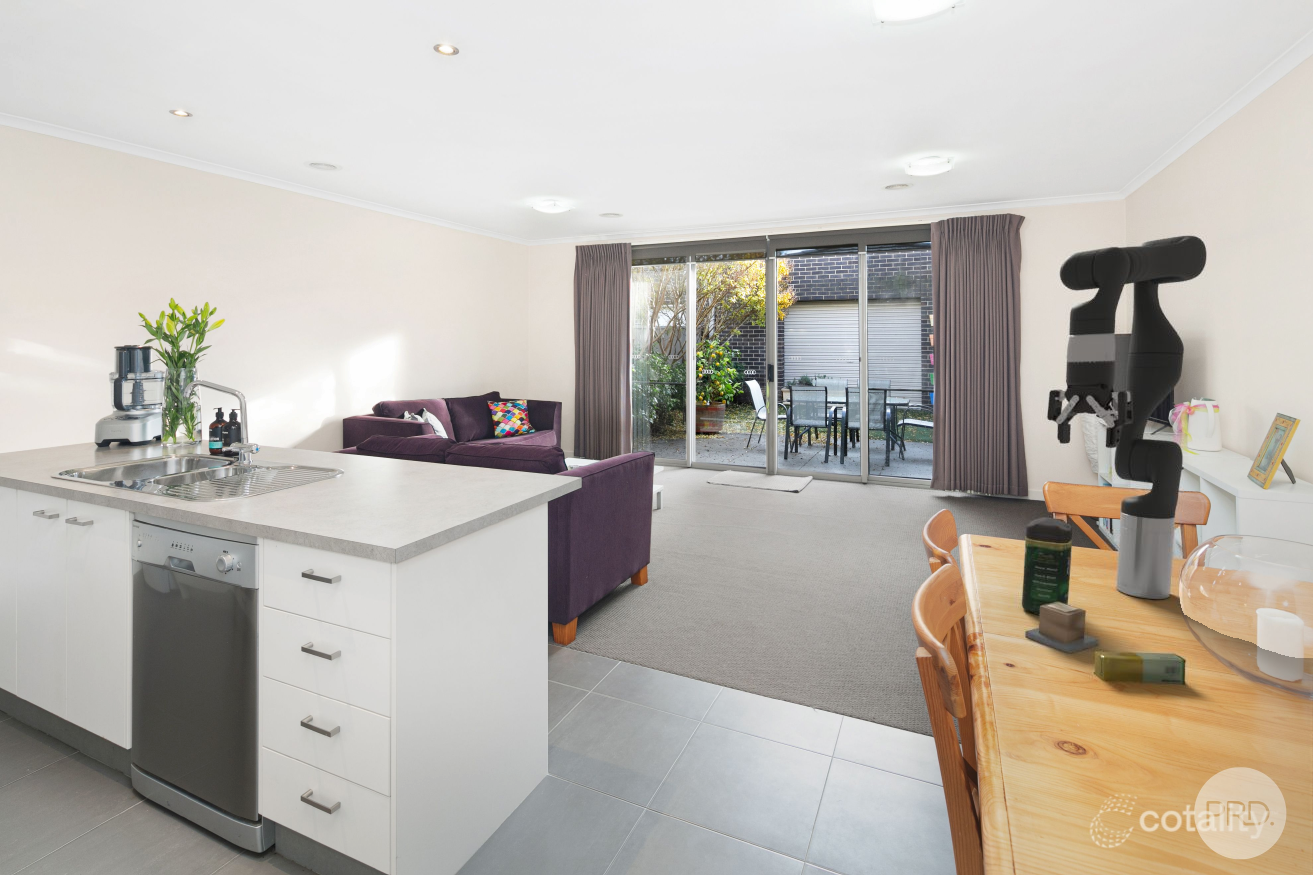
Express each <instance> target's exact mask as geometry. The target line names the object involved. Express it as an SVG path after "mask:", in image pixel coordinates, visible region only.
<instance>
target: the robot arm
mask: <svg viewBox="0 0 1313 875" xmlns="http://www.w3.org/2000/svg"><path fill="white" fill-rule="evenodd" d="M1206 263H1207V248H1206V245H1205V242H1204V241H1203V240H1202V239H1201V238H1199V237H1198V236H1195V235H1180V236H1174V237H1173V236H1172V237H1167V238H1162V239H1160V238H1159V239H1154V240H1149V241H1145V242H1143V243H1142V244H1141V245H1140V246H1139V245H1138V246H1124V247H1119V246H1111V247H1110V246H1109V247H1105V248H1099V249H1092V250H1086V251H1079V252H1074V253H1073V254H1070V255H1069V256H1067V257H1066V259H1064V260H1063V262H1062V264H1061V266H1060V270H1059V277H1060V281H1061V283H1062V284H1063V285H1064V287H1066V288H1067V289H1069V290H1071V291H1077V292H1078V291H1085V290H1086V291H1087V290H1095V289H1098V290H1097V292H1096V293H1095V295H1094V297H1092V299H1090V300H1088V301H1083V302H1081V303H1077V304H1074V306H1072V307H1071V309H1070V312H1069V330H1068V331H1069V332H1068V334H1069V337H1068V341H1067V343H1068V344H1067V347H1066V348H1067V349H1066V369H1065V370H1066V372H1065V373H1066V374H1065V375H1066V376H1065V378H1066V379H1065V383H1066V386H1067V388H1066V389H1065V390H1062V389H1053V390H1049V394H1048V405H1047V416H1046V418H1047V420H1049V421H1053V422H1054V423H1056V424H1057V434H1056V436H1057V440H1058V441H1059V444H1063V445H1064V444H1070V442H1071V429H1072V428H1071V421H1072V420H1073V418H1075V416H1077V415H1078V414H1088V415H1089V414H1091V415H1096V414H1097V416H1098V417H1099V418H1100V419H1102V420H1103V421H1104V423H1105V424H1106V426H1107V427H1106V430H1105V431H1106V432H1105V448H1108V449H1114V448H1115V452H1114V471H1115V473H1116V476H1118V478H1119V479H1122V480H1125V481H1132V482H1138V483H1139V482H1140V483H1146V484H1152V485H1151V490H1150V491H1148V493H1146V494H1141V495H1135V496H1129V497H1125V498H1124V499H1123V500H1122V501H1121V503H1120V504H1121V505H1120V521H1119V538H1118V540H1119V541H1118V553H1117V555H1118V557H1117V569H1116V570H1117V571H1116V586H1115V587H1116V588H1115V589H1116V590H1118V591H1119V592H1121V593H1124V594H1126V595H1130V596H1133V597H1138V598H1143V599H1150V600H1165V599H1168V598H1170V593H1171V586H1172V572H1173V571H1172V569H1173V560H1174V557H1173V556H1174V555H1173V554H1174V550H1173V549H1174V536H1175V521H1176V520H1175V519H1176V512H1177V510H1176V509H1177V505H1178V500H1179V491H1180V484H1181V477H1182V470H1183V462H1184V458H1183V457H1184V456H1183V451H1182V447H1181V446H1180V444H1179V443H1178V442H1176V441H1173V440H1164V439H1162V440H1161V439H1150V438H1149V439H1148V438H1144V433H1145V429H1146V426H1147V424H1148V421H1149V419H1150V417H1151V416H1152V414H1153V413H1154V411H1155V410H1156V408H1157V407H1158V406H1159V405H1160V404H1161V403H1162V402H1163V401H1164V400H1165V399H1166V398H1167V397H1168V395H1169V394H1170V393H1171V392H1172V391H1173V390H1174V389H1175V387H1176V386H1177V384H1178V383H1179V381H1180V380H1181V377H1182V372H1183V370H1182V369H1183V363H1184V351H1185V348H1184V344H1183V341H1182V338H1181V337H1180V335H1179V334H1178V332H1177V331H1176V329H1175V327H1174V326H1173V325H1172V323H1171V322H1170V321H1169V320H1168V318H1167V316H1166V315H1165V313H1164V311H1163V308H1162V307H1161V304H1160V301H1159V300H1160V299H1159V285H1163V284H1171V283H1172V284H1173V283H1182V282H1187V281H1188V282H1189V281H1191V280H1193V279H1195V278H1197V277H1198V276H1200V275H1201V274H1202V272H1203V271H1204V269H1205V266H1206ZM1128 284H1133V311H1132V312H1133V313H1132V314H1133V315H1132V323H1131V334H1130V341H1129V342H1130V343H1129V347H1128V348H1129V349H1128V355H1127V365H1126V366H1127V367H1126V378H1125V379H1126V381H1125V382H1126V383H1125V391H1124V390H1123V391H1121V390H1120V391H1117V392H1116V391H1115V390H1114V388H1113V387H1114V384H1115V371H1116V368H1115V367H1116V350H1117V349H1116V348H1117V345H1116V344H1117V343H1116V338H1115V337H1116V336H1115V335H1116V334H1115V332H1116V314H1117V309H1118V305H1119V303H1120V298H1121V296H1122V293H1123V289H1124V287H1125V285H1128ZM1065 399H1066V401H1067V402H1068V403H1067V404H1066V406H1064V408H1063V401H1065ZM1114 400H1115V403H1116V404H1117V411H1116V409H1115V407H1113V406H1112V404H1111V403H1112V402H1113V401H1114Z"/></svg>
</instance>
